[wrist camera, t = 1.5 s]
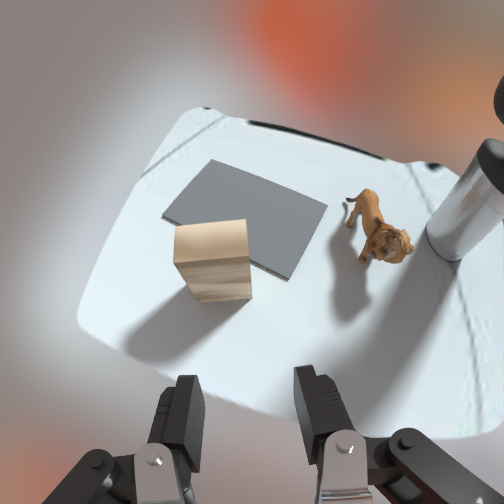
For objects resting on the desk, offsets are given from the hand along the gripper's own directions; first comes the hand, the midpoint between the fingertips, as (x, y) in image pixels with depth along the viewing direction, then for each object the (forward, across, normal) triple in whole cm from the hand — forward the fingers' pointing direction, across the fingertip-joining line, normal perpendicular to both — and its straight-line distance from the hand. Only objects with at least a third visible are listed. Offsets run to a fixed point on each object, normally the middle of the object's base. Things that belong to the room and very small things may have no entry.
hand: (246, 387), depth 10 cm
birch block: (+25, +3, +6) cm, 26 cm away
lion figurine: (+29, -19, +3) cm, 35 cm away
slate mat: (+34, -1, -2) cm, 34 cm away
